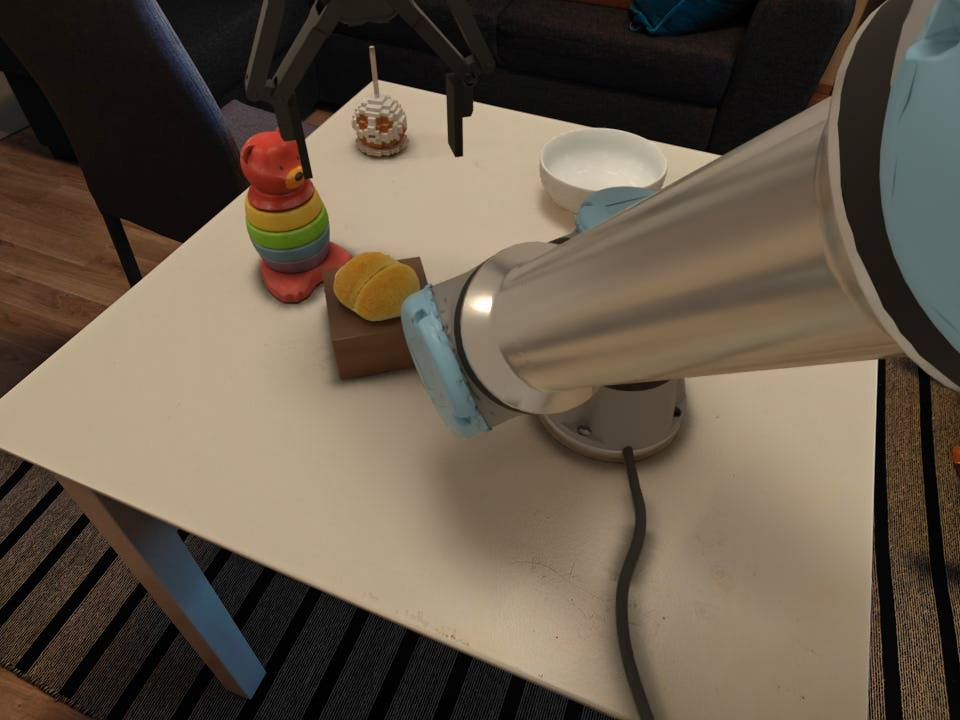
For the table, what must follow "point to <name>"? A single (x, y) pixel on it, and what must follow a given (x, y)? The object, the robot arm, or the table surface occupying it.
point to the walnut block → (367, 333)
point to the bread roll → (375, 285)
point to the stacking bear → (286, 218)
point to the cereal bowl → (598, 164)
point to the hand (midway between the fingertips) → (383, 160)
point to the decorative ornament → (379, 121)
